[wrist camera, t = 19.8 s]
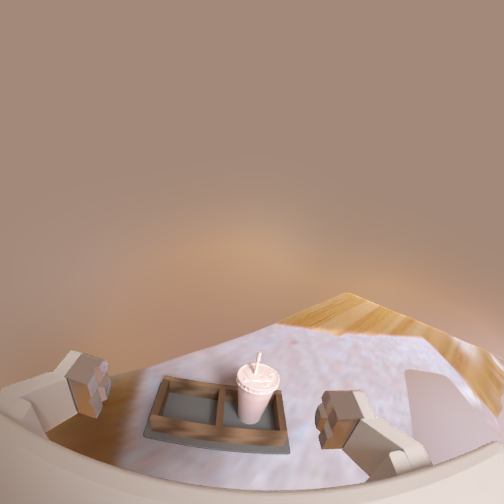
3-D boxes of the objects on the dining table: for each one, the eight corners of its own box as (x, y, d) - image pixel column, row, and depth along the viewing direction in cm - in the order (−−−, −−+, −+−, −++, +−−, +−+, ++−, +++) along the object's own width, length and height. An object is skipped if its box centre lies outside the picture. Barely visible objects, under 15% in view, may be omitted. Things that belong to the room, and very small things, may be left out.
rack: (151, 430, 35) (150, 418, 34) (165, 387, 45) (164, 375, 44) (283, 446, 36) (287, 435, 35) (277, 401, 46) (280, 390, 45)
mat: (143, 436, 34) (143, 434, 34) (161, 383, 46) (161, 381, 46) (289, 454, 35) (290, 452, 35) (281, 399, 48) (282, 397, 47)
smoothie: (238, 398, 46) (249, 335, 42) (272, 410, 44) (291, 347, 40) (223, 422, 40) (233, 358, 36) (261, 435, 38) (280, 373, 34)
